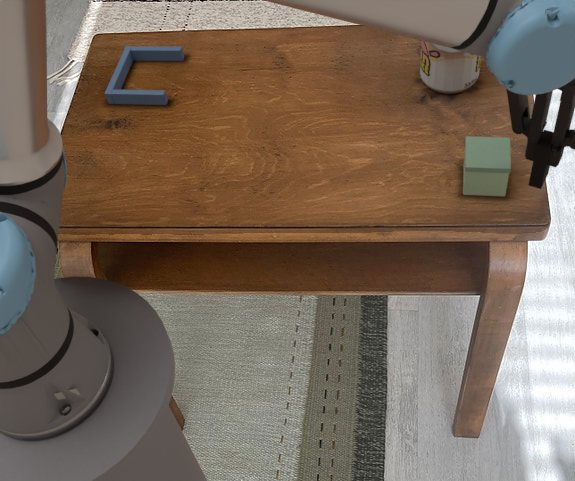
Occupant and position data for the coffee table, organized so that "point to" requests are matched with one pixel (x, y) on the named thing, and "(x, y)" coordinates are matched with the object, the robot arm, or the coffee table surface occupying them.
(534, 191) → the coffee table surface
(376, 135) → the coffee table surface
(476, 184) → the toy box
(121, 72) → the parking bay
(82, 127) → the coffee table surface
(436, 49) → the beverage can
